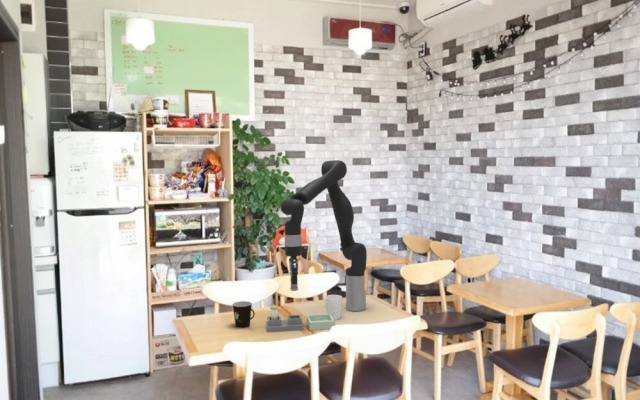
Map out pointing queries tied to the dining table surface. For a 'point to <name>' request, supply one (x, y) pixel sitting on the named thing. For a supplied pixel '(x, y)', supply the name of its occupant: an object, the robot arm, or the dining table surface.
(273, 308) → the fuse
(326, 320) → the parts tray
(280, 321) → the fuse block
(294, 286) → the fuse
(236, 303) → the coffee mug
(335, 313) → the white cup
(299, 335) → the dining table surface
